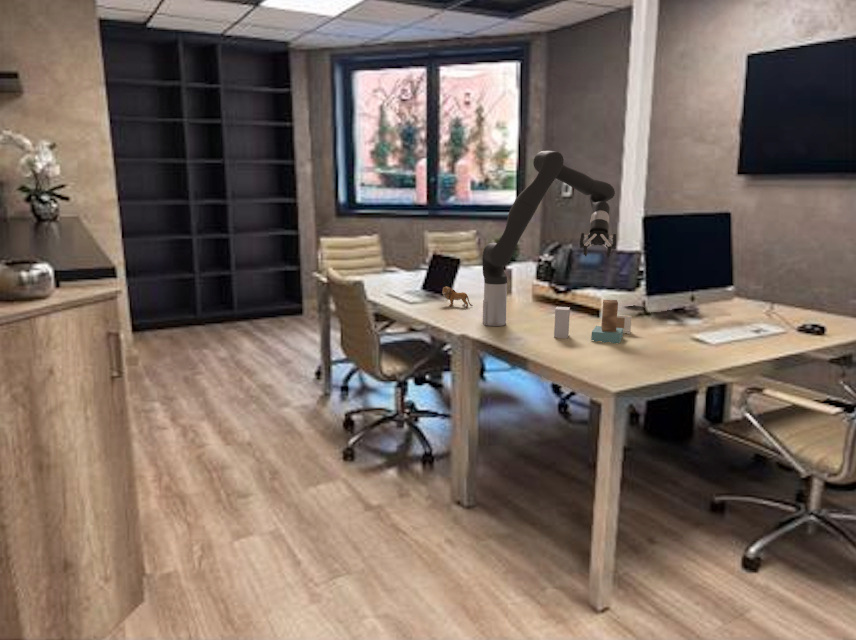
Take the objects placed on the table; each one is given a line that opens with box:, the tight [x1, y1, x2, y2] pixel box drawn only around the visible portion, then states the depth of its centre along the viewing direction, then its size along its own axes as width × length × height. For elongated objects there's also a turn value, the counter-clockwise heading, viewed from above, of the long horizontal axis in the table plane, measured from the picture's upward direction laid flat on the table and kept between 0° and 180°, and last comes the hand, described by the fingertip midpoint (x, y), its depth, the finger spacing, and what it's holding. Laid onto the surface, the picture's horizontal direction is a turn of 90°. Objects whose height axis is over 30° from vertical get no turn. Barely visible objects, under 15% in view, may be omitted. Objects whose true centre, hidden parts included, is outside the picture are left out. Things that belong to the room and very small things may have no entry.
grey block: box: [553, 306, 571, 339], centre depth 244 cm, size 5×5×11 cm
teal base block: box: [590, 325, 624, 345], centre depth 241 cm, size 10×10×4 cm
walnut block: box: [600, 299, 619, 332], centre depth 239 cm, size 5×5×11 cm
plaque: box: [616, 314, 632, 335], centre depth 252 cm, size 9×4×7 cm, turn 74°
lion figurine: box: [441, 286, 474, 309], centre depth 300 cm, size 15×5×9 cm, turn 73°
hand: (596, 255), depth 256 cm, fingers open, 8 cm apart
